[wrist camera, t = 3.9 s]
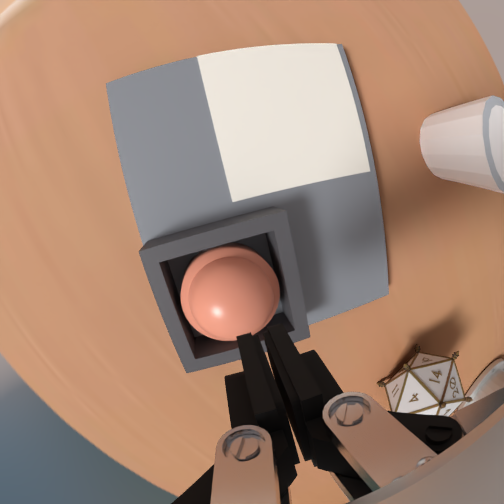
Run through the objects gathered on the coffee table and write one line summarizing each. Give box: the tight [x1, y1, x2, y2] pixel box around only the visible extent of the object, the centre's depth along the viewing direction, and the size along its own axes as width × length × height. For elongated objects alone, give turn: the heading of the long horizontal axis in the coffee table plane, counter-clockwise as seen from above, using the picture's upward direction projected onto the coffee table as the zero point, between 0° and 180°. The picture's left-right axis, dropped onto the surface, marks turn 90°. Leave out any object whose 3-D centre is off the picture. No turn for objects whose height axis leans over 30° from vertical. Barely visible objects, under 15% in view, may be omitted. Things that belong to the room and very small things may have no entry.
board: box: [106, 43, 389, 373], centre depth 15 cm, size 18×15×4 cm
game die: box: [377, 344, 473, 417], centre depth 20 cm, size 9×8×10 cm
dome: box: [181, 242, 280, 341], centre depth 15 cm, size 5×5×4 cm
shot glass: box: [420, 96, 504, 194], centre depth 15 cm, size 7×7×7 cm
